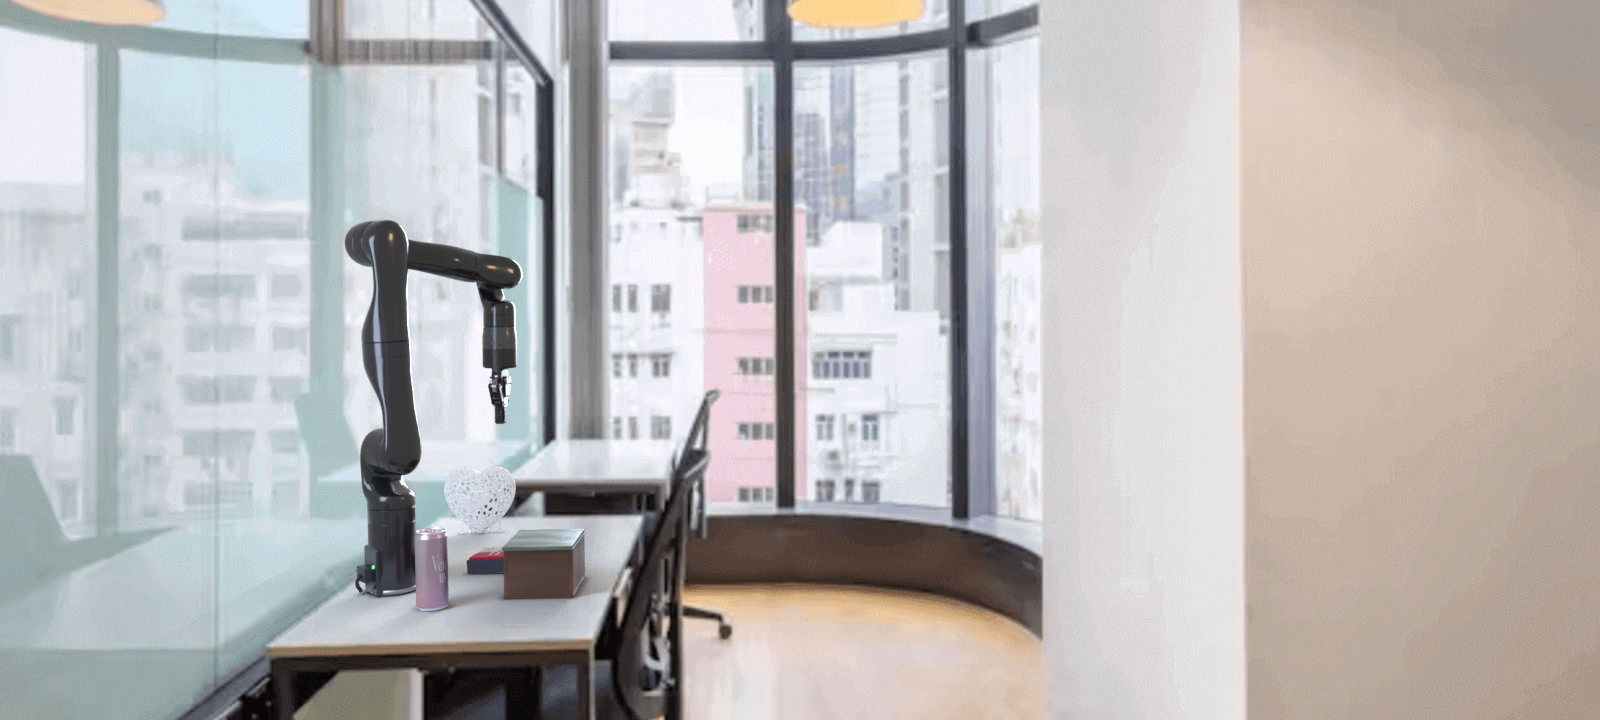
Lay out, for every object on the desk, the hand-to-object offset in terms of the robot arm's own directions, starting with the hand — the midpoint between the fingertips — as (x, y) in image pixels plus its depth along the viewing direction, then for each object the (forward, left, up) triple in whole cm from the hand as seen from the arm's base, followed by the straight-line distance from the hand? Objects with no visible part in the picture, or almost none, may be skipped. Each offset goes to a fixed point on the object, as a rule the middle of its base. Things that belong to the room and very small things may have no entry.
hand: (500, 423), depth 242 cm
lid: (-5, -27, -22) cm, 35 cm away
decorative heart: (+12, +34, -32) cm, 48 cm away
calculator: (-2, -6, -32) cm, 33 cm away
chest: (-5, -27, -32) cm, 42 cm away
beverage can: (-28, -24, -32) cm, 49 cm away
